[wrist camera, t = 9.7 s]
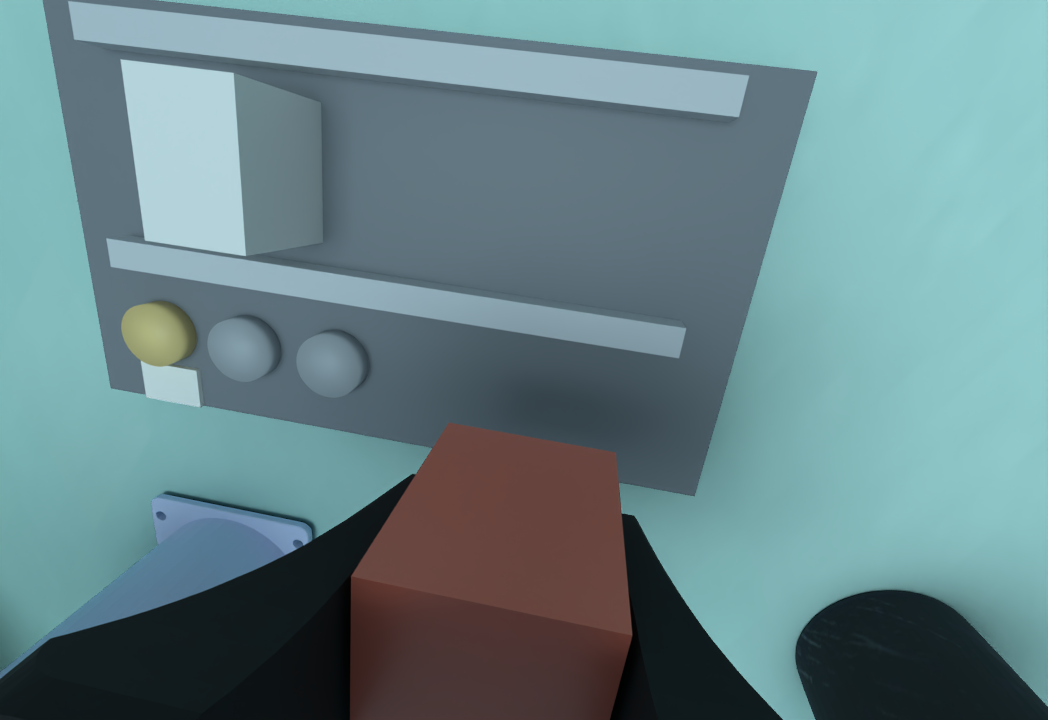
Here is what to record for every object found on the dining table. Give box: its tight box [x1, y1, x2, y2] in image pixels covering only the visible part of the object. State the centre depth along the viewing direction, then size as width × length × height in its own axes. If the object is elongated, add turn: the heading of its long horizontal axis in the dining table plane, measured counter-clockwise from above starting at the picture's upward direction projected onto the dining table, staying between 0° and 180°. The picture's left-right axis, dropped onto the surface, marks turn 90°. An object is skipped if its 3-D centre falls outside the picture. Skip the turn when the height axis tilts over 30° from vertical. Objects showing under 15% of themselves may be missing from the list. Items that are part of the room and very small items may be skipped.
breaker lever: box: [120, 59, 323, 256], centre depth 14 cm, size 4×3×4 cm
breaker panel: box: [43, 0, 817, 496], centre depth 17 cm, size 14×24×2 cm, turn 83°
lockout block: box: [350, 423, 632, 720], centre depth 10 cm, size 4×4×5 cm
